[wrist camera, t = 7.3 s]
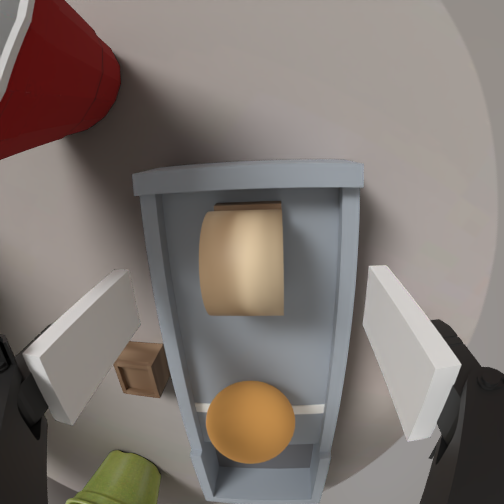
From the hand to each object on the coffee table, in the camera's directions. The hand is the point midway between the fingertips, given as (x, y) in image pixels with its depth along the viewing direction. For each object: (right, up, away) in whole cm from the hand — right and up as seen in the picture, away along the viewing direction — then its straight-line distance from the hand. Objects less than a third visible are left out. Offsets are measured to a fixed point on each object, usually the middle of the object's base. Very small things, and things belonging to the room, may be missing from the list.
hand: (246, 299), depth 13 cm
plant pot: (-12, -21, +14) cm, 28 cm away
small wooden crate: (-7, -6, +9) cm, 13 cm away
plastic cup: (-10, +12, +3) cm, 16 cm away
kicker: (0, +2, +3) cm, 3 cm away
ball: (0, -8, +3) cm, 8 cm away
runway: (+1, -6, +8) cm, 10 cm away
